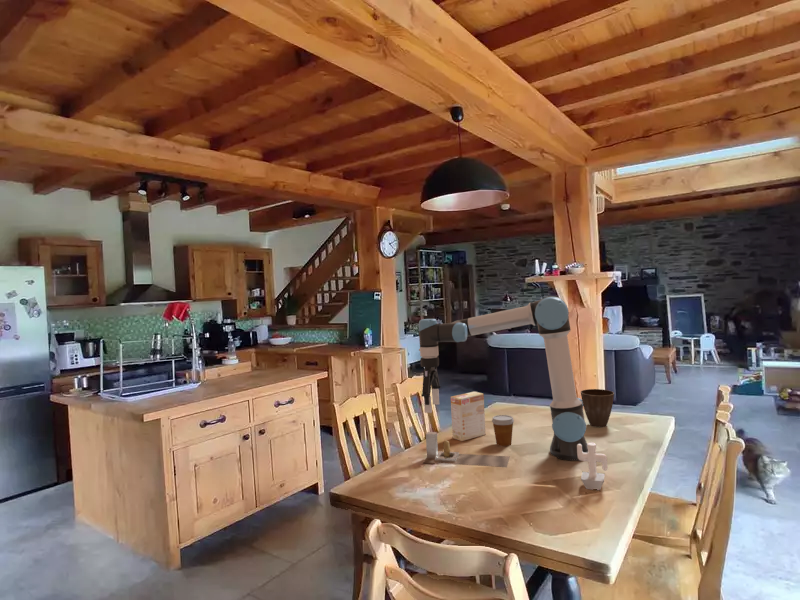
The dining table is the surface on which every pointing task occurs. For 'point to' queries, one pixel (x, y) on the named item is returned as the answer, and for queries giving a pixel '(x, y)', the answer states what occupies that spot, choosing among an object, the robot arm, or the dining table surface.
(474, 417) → the coffeecake box
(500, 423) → the disposable coffee cup
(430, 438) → the tie down link
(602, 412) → the plant pot
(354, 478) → the dining table surface
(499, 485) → the dining table surface
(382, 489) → the dining table surface
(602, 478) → the figurine
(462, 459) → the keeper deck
